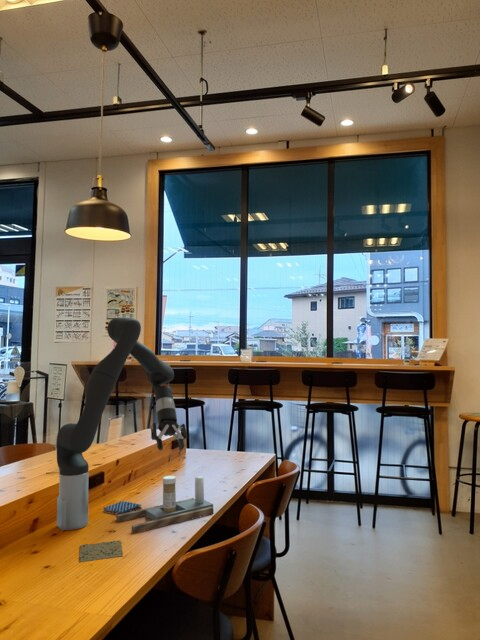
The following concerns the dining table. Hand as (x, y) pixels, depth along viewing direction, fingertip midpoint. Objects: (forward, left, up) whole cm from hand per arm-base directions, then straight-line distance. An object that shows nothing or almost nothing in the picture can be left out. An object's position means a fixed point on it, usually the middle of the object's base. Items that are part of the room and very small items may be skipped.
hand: (171, 449), depth 181 cm
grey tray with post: (-4, -13, -20) cm, 24 cm away
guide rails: (-9, -13, -20) cm, 26 cm away
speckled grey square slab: (-37, -27, -20) cm, 50 cm away
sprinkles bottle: (-8, -13, -20) cm, 25 cm away
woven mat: (-18, +4, -20) cm, 28 cm away
